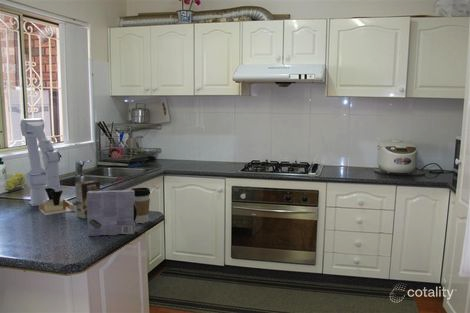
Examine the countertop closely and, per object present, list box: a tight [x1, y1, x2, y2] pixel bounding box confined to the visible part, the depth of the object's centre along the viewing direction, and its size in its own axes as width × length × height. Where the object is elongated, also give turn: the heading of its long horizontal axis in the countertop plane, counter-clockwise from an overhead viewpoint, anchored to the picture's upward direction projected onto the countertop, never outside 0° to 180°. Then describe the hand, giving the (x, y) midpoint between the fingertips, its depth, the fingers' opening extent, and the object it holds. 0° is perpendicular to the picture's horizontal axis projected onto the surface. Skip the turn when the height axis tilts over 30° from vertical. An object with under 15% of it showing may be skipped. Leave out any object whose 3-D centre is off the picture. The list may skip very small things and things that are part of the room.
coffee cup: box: [131, 187, 151, 224], centre depth 180 cm, size 8×8×15 cm
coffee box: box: [74, 179, 101, 219], centre depth 190 cm, size 9×6×16 cm
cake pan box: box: [86, 189, 137, 237], centre depth 164 cm, size 19×5×18 cm, turn 99°
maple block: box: [43, 197, 66, 212], centre depth 199 cm, size 5×9×4 cm, turn 128°
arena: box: [38, 199, 75, 216], centre depth 200 cm, size 12×13×3 cm
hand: (54, 203), depth 199 cm, fingers open, 7 cm apart
